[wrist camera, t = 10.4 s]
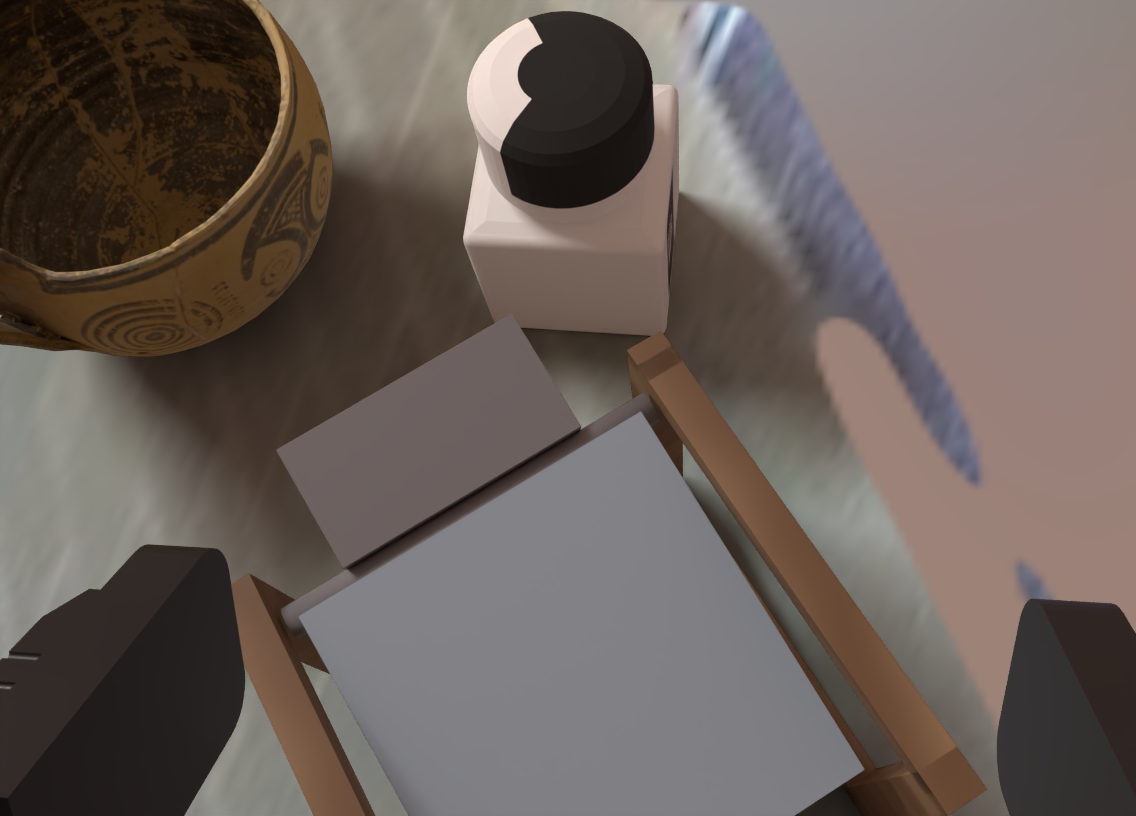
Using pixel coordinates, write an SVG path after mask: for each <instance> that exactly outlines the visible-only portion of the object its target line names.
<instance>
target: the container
mask: <svg viewBox="0 0 1136 816" xmlns="http://www.w3.org/2000/svg"><path fill="white" fill-rule="evenodd" d="M467 101H468V109H469V112H470V116H471V119H472V122H473V126H474V129H475V132H476V136H477V139H478V142H479V147H478V153H477V159H476V165H475V171H474V176H473V182H472V188H471V194H470V200H469V206H468V212H467V218H466V224H465V230H464V236H463V241H464V245H465V248H466V250H467V253H468V256H469V258H470V261H471V263H472V266H473V269H474V271H475V274H476V277H477V279H478V282H479V285H480V287H481V290H482V292H483V295H484V298H485V300H486V303H487V306H488V308H489V311H490V314H491V316H492V319H493V321H494V322H495V323H496V322H497V321H499V320H501V319H503V318H504V317H506V316H508V315H510V314H511V313H512V315H513V316H514V318H515V319H516V321H517V323H518V324H519V326H520V328H535V329H551V330H567V331H583V332H599V333H615V334H631V335H647V336H652V335H654V334H655V333H657V332H659V331H660V330H661V331H662V333H664V332H665V330H666V328H667V317H668V306H669V295H670V285H671V274H672V263H673V252H674V241H675V230H676V219H677V208H678V197H679V120H678V92H677V90H676V88H675V87H674V86H671V85H658V84H653V80H652V71H651V67H650V64H649V61H648V59H647V56H646V54H645V52H644V50H643V49H642V48H641V46H640V45H639V43H638V42H637V41H636V40H635V39H634V38H633V37H632V36H631V35H630V34H629V33H628V32H627V31H625V30H624V29H623V28H621V27H620V26H618V25H616V24H614V23H613V22H611V21H608V20H606V19H603V18H601V17H598V16H594V15H590V14H587V13H581V12H572V11H560V12H550V13H545V14H540V15H536V16H533V17H530V18H527V19H525V20H523V21H521V22H518V23H516V24H515V25H513V26H511V27H510V28H508V29H507V30H505V31H504V32H503V33H501V34H500V35H499V36H498V37H496V38H495V39H494V40H493V41H492V42H491V43H490V44H489V45H488V46H487V47H486V48H485V50H484V51H483V52H482V53H481V55H480V56H479V58H478V60H477V61H476V63H475V65H474V67H473V70H472V72H471V75H470V78H469V83H468V89H467Z"/></svg>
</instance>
